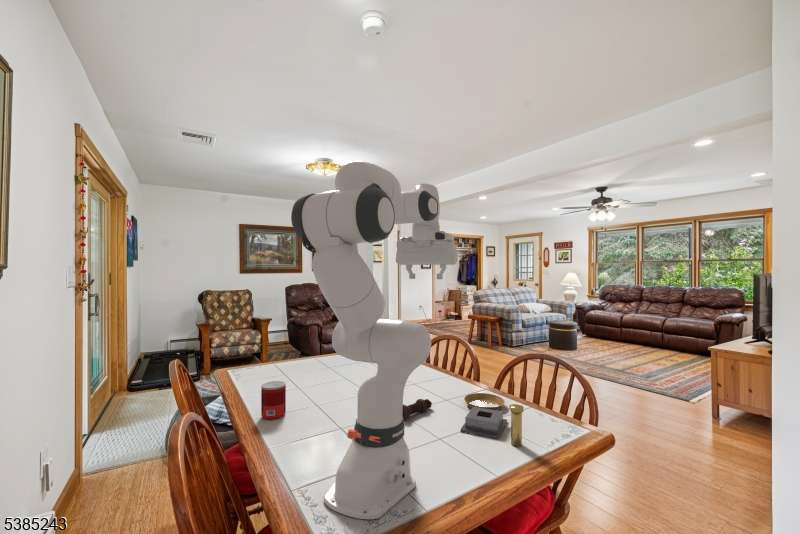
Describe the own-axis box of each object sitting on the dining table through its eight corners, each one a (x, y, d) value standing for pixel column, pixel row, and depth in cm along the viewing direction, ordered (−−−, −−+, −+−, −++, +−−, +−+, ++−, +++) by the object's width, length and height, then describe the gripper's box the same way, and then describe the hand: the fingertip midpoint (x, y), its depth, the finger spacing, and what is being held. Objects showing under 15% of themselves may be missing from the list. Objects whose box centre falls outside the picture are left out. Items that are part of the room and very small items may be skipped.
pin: (522, 448, 104) (522, 410, 104) (508, 446, 106) (508, 408, 106) (524, 442, 108) (524, 405, 108) (510, 440, 110) (510, 403, 110)
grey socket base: (499, 439, 110) (499, 426, 110) (460, 431, 115) (460, 419, 115) (507, 421, 123) (507, 409, 123) (471, 415, 128) (471, 404, 128)
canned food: (289, 415, 127) (289, 384, 127) (268, 422, 121) (268, 389, 121) (278, 409, 132) (278, 379, 132) (257, 416, 127) (257, 384, 127)
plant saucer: (513, 411, 132) (513, 404, 132) (477, 417, 127) (477, 409, 127) (489, 397, 146) (489, 391, 146) (457, 402, 141) (457, 395, 141)
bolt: (430, 414, 134) (402, 425, 123) (421, 404, 137) (393, 414, 126) (437, 402, 132) (409, 412, 121) (427, 392, 135) (399, 401, 124)
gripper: (392, 236, 119) (392, 278, 119) (453, 234, 111) (453, 279, 111) (400, 237, 125) (400, 278, 125) (459, 235, 116) (458, 279, 116)
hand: (425, 279), depth 118 cm, fingers open, 8 cm apart
